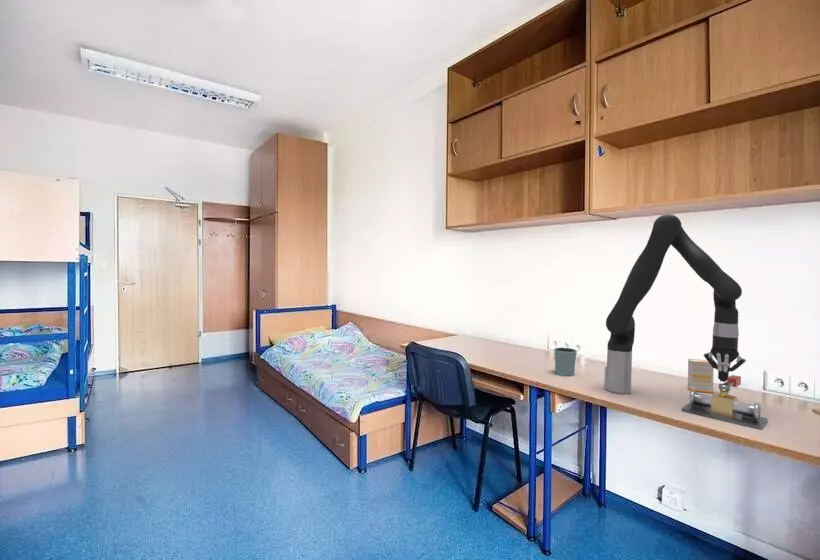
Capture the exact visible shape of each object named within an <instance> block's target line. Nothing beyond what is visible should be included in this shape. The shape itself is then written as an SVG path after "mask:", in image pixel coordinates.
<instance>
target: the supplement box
mask: <svg viewBox="0 0 820 560" xmlns="http://www.w3.org/2000/svg"><path fill="white" fill-rule="evenodd" d="M687 361H688V362H687V389H688V390H689V392H691V391H692V390H694V391H696V392H697V393H698V392H699V393H705V394H706V393H707V394H714V369H715V368H713V367H712V366H711V365H710V363H709V362H708V361H707V359H700V358H699V359H696V358H688V360H687Z"/></svg>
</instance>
